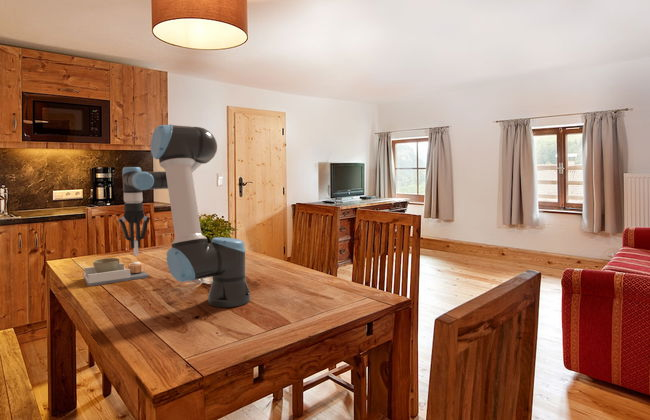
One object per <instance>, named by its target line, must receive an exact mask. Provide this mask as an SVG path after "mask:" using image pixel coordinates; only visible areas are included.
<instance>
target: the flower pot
mask: <svg viewBox="0 0 650 420" xmlns="http://www.w3.org/2000/svg"><path fill="white" fill-rule="evenodd" d="M92 263H93V267H94V268H95V270H96V272H97V273H103V272H111V271H117V269H118V266H119V263H120V258H117V257H106V258H98V259H96V260H93V261H92Z"/></svg>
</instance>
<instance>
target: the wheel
mask: <svg viewBox="0 0 650 420" xmlns="http://www.w3.org/2000/svg"><path fill="white" fill-rule="evenodd" d="M127 269H130V273H139V272H143V271H144V272H145V263H144V262H141V261H135V262H131V263H128V265H127Z"/></svg>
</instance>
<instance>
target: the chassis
mask: <svg viewBox="0 0 650 420" xmlns="http://www.w3.org/2000/svg"><path fill="white" fill-rule="evenodd" d="M83 271H84V272H83V280H84V282H85V283H86V285H87V287H93V286H99V285H101V286H102V285H106V284H107V285H108V284H113V283H114V284H115V283H122V282H127V281H134V280H141V279H147V278H149V274H148V273H147V272H145V270H144V271H143V272H139V273H130V269H128V268H126V267H125V264H124V262H119V266H118V269H117V271H111V272H103V273H97V272H96V270H95V268H94V266H89V267H88V266H87V267H84V268H83Z"/></svg>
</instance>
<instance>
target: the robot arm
mask: <svg viewBox="0 0 650 420" xmlns="http://www.w3.org/2000/svg"><path fill="white" fill-rule="evenodd" d="M217 143H218V142H217V140H216V138H215V137H214V135H213V133H212V132H210V130H207V129H206V128H204V127H200V126H189V125H174V124H160V125H158V126H156V128H155V129H154V130H153V132H152V136H151V140H150V154H151V156H152V158H153V159H155V160H158V161H159V166H160V167H161V168H163V169H164V170H165V171H164V170H163V171H142V168H141V167H140V166H124V167H123V168H122V174H121V177H122V188H123V202H124V204H123V207H124V209H123V210H124V211H123V216H122V217H120V218H118V219H117V221H118V223H119V224H120V226H121V229H122V232H123V235H124V239H125V240H127V241H130V248H131V249H133V256H136V257H137V256H139V249H140V248H141V240H143V239H145V237H146V233H147V228H148V224H149V221H150V220H151V217H149V216H147V215H146V214H145V212H144V204H143V200H144V198H143V191H147V190H162V189H163V190H166V189H167V190H168V197H169V198H168V199H169V204H170V209H171V210H170V211H171V218H172V223H173V230H174V239H173V241H172V242H171V248H169V249H168V250H167V253H166V265H167V267H168V270H169V272H170V275H171V276H172V277H173V279H174V280H176V281H177V282H180V283H183V282H184V283H185V282H195V281H197V280H202V279H206V278H207V279H208V278H211V277H212V281H211V285H210V288H209V291H208V294H207V295H208V296H207V303H208V304H209V305H210V306H212V307H217V308H234V307H240V306H244V305H246V304H247V303H249V302H250V301H251V292H250V288H249V286H248V283H247V281H246V247H245V246H246V245H245V242H244V241H243V240H242V239H240V238H239V239H238V238H234V237H233V238H232V237H222V236H221V237H213V238H212V239H211V241H210V243H208V238H207V237H206V236H205V235H204V234H203V233H202V228H201V222H200V216H199V210H198V204H197V203H198V202H197V196H196V190H195V182H194V177H193V173H194V172H195V171H196V170H197V169H198V168H200V166H201V165H203V164H207V163H209V162H210V161H211V160H212V159H213V158H215V155H216V154H217V152H218V151H217V150H218V144H217ZM142 220H143V223H142V228H141V226H140V225H141V222H142ZM125 222H127V223H128V226H129V232H128V229H127V226H126V223H125ZM134 226H135V229H134ZM135 238H136V239H135Z"/></svg>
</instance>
